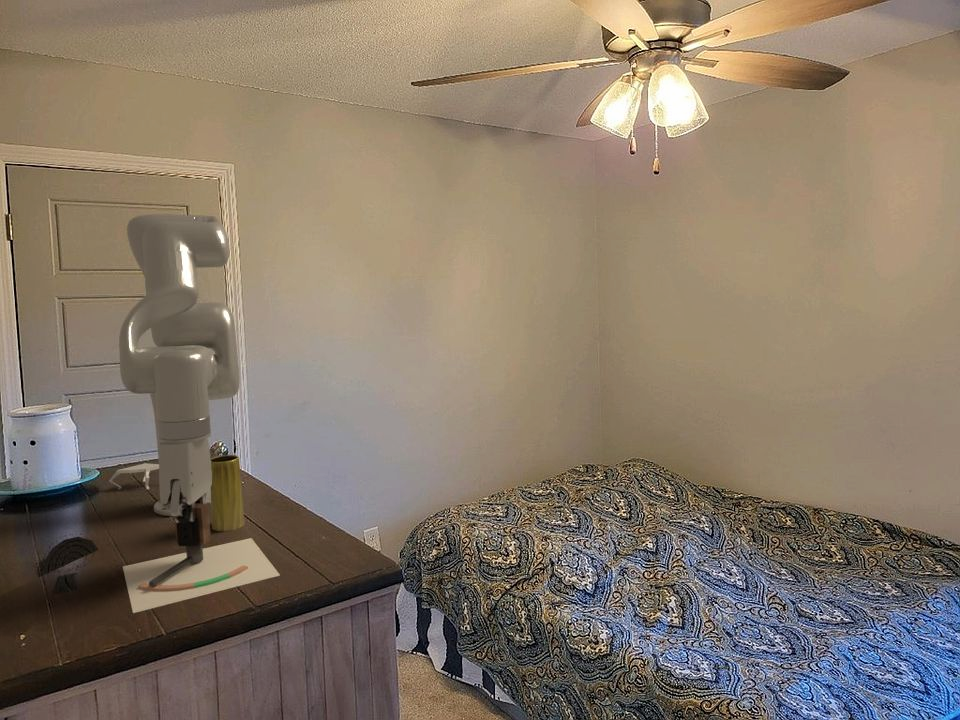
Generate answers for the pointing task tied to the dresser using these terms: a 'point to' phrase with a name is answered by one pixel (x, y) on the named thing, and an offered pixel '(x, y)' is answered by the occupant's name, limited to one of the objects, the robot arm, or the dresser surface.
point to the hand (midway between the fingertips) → (193, 540)
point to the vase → (226, 493)
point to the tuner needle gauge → (192, 551)
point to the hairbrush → (67, 559)
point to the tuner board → (197, 574)
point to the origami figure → (137, 468)
